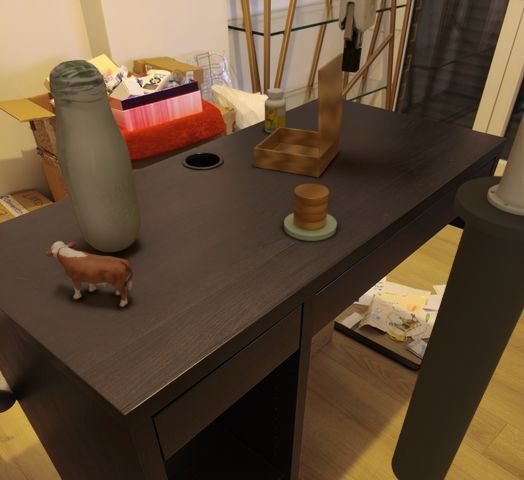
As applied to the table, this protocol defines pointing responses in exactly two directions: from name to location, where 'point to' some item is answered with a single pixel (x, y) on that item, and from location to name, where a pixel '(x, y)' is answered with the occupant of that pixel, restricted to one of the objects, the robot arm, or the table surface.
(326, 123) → the lid
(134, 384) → the table surface
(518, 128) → the robot arm
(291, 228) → the plate
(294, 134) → the wooden box
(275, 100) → the supplement bottle
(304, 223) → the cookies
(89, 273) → the bull figurine
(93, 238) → the grey green bottle
